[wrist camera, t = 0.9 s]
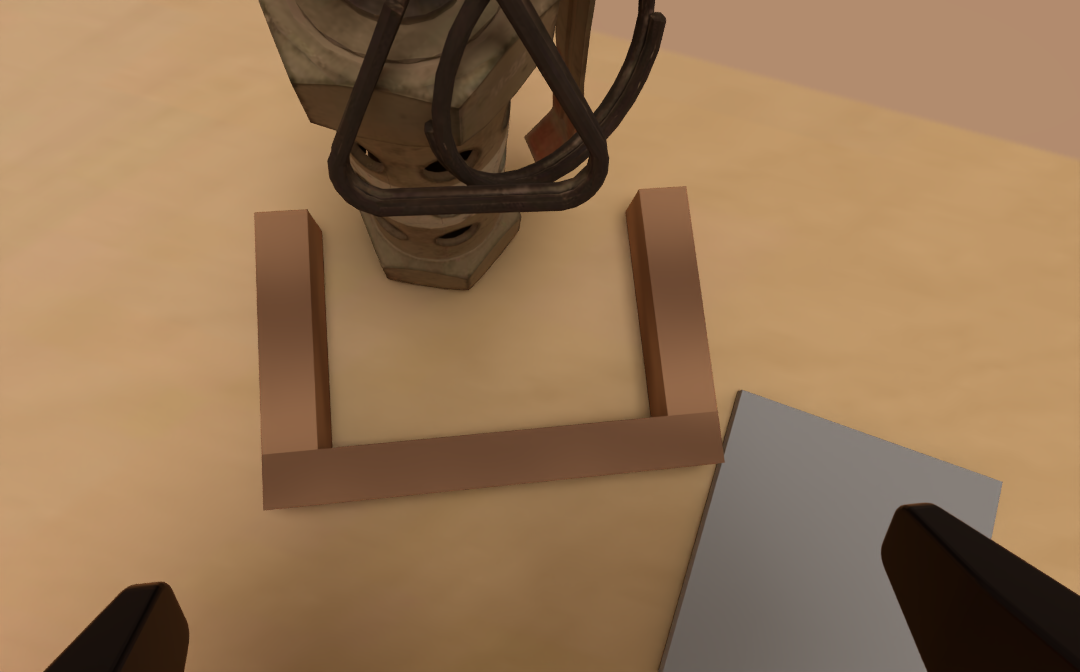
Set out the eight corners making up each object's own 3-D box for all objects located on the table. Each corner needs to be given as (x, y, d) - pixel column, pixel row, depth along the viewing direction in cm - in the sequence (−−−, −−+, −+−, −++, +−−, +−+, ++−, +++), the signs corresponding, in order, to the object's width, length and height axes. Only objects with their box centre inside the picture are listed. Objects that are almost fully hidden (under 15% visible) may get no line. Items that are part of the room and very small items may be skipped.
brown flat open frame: (703, 462, 22) (724, 462, 20) (283, 505, 21) (263, 510, 19) (668, 209, 24) (686, 186, 22) (274, 234, 22) (254, 212, 20)
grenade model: (423, 371, 22) (315, 190, 7) (348, 175, 23) (115, -336, 8) (608, 299, 23) (841, 11, 8) (528, 114, 24) (610, -444, 9)
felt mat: (935, 767, 21) (944, 773, 21) (658, 672, 21) (661, 676, 21) (993, 481, 23) (1002, 482, 23) (738, 390, 23) (742, 389, 22)
